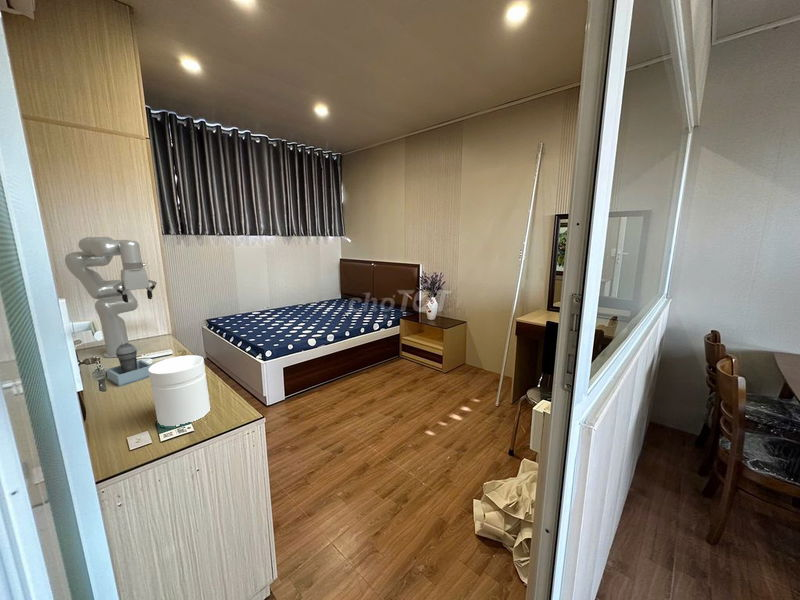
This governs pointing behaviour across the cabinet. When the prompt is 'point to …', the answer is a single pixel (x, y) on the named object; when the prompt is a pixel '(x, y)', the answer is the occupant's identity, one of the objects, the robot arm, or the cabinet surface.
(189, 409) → the canister
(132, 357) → the beverage cup
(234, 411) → the cabinet surface
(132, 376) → the bin
